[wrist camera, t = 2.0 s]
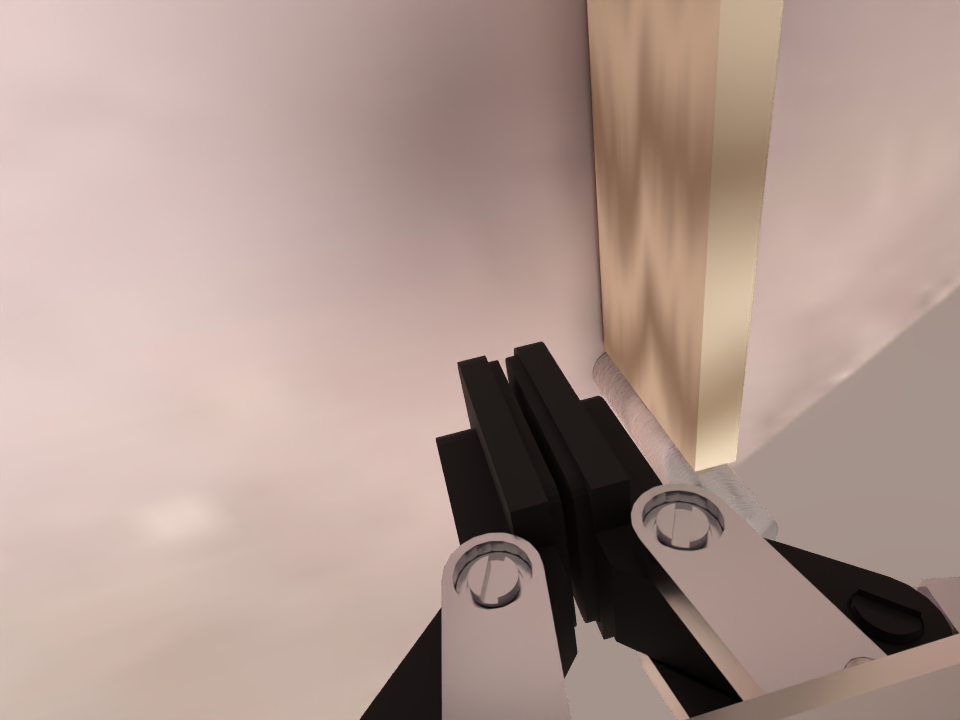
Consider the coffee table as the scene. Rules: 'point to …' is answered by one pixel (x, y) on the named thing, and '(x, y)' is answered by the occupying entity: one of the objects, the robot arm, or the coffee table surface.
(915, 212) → the coffee table surface
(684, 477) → the hinge post
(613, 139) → the gate
